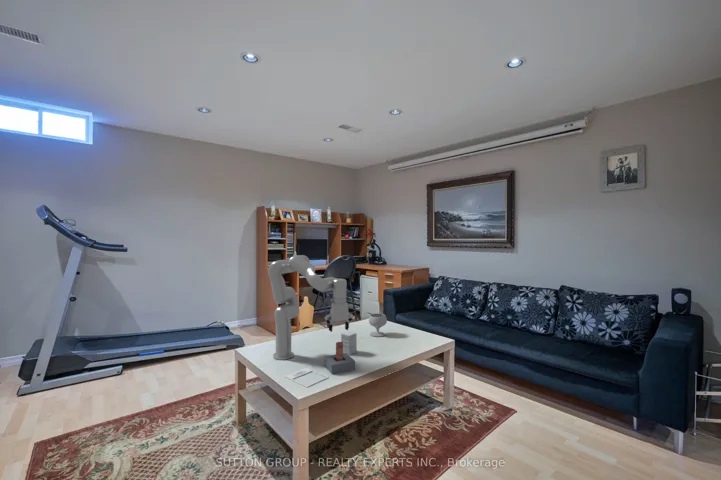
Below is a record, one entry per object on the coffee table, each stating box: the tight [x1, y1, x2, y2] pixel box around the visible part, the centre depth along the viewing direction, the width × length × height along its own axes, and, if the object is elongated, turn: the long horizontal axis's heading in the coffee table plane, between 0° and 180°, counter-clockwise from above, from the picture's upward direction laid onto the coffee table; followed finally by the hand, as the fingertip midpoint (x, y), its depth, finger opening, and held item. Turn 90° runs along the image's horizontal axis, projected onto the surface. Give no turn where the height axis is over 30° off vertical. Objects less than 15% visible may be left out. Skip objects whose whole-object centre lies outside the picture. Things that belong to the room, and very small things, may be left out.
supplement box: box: [340, 330, 358, 356], centre depth 204 cm, size 7×7×13 cm
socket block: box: [323, 353, 356, 375], centre depth 180 cm, size 14×14×5 cm
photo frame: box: [284, 367, 329, 388], centre depth 167 cm, size 15×1×18 cm
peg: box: [335, 341, 343, 361], centre depth 180 cm, size 4×4×14 cm
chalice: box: [368, 313, 388, 338], centre depth 243 cm, size 14×14×15 cm
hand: (338, 330), depth 180 cm, fingers open, 9 cm apart
